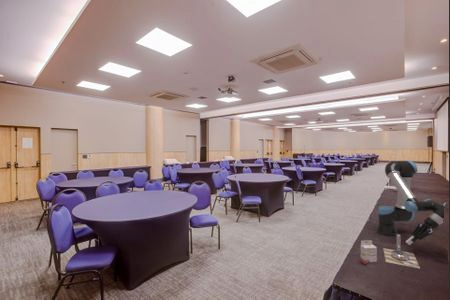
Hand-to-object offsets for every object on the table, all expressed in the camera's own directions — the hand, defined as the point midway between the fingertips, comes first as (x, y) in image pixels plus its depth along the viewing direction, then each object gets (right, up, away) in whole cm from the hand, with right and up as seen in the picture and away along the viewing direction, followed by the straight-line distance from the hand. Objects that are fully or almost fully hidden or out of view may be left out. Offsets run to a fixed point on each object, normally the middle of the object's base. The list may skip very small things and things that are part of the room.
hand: (407, 243), depth 166 cm
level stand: (-9, -10, -4) cm, 14 cm away
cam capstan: (-9, -8, -4) cm, 13 cm away
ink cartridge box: (-32, -11, -7) cm, 35 cm away
